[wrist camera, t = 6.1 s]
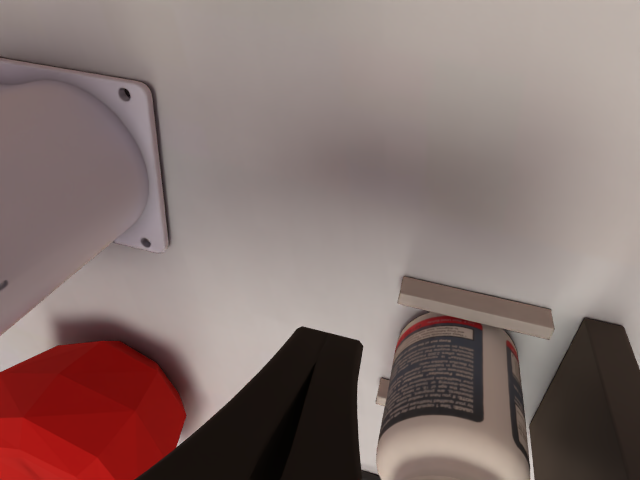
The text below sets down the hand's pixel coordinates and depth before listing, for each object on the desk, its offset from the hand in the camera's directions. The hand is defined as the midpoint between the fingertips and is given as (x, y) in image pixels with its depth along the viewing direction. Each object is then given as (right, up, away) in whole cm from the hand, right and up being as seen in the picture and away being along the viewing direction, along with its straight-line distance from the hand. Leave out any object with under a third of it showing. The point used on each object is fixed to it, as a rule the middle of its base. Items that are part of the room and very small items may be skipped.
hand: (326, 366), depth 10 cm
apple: (-12, -6, +20) cm, 24 cm away
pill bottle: (+6, -2, +12) cm, 13 cm away
